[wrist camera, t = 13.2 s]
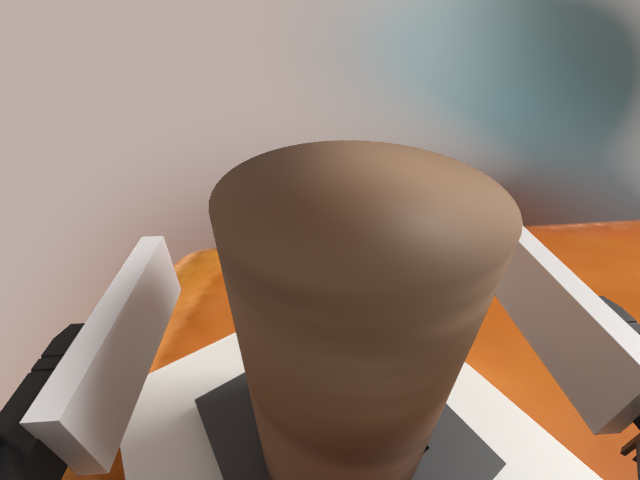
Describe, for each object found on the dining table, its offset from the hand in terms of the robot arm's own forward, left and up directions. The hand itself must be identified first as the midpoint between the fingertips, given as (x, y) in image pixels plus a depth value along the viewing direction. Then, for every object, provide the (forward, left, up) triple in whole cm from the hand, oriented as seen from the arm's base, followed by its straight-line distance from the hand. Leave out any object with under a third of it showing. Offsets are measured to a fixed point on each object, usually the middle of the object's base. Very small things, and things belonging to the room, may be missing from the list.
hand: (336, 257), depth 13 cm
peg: (+2, +3, -11) cm, 12 cm away
